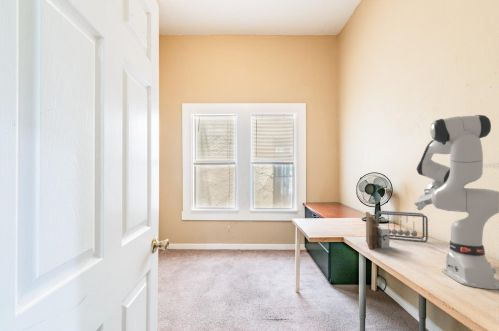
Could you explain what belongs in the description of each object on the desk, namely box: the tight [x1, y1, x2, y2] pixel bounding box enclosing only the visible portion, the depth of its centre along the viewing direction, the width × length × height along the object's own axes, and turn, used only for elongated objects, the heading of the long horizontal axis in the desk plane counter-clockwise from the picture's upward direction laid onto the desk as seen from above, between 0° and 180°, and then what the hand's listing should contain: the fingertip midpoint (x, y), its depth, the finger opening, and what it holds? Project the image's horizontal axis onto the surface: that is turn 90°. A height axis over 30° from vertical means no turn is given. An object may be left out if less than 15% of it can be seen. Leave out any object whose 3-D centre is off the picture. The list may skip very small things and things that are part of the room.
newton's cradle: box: [375, 210, 429, 243], centre depth 185 cm, size 30×10×18 cm, turn 68°
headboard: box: [365, 211, 378, 250], centre depth 168 cm, size 20×5×19 cm, turn 161°
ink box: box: [377, 225, 390, 249], centre depth 165 cm, size 9×5×12 cm, turn 177°
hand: (419, 209), depth 155 cm, fingers closed
